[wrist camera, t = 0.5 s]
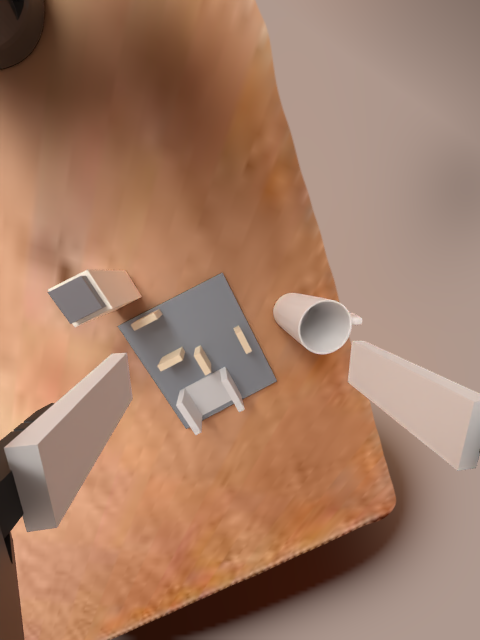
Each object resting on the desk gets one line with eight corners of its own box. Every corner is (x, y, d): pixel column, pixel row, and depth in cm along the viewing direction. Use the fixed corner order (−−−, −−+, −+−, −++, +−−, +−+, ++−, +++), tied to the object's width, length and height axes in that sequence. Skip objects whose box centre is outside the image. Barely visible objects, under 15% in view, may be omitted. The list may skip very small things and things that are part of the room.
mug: (271, 331, 39) (298, 357, 27) (270, 292, 38) (297, 302, 26) (327, 326, 40) (375, 348, 29) (327, 288, 39) (378, 295, 27)
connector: (98, 283, 34) (40, 290, 22) (125, 270, 34) (82, 269, 22) (115, 310, 35) (69, 329, 23) (141, 296, 35) (108, 309, 23)
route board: (119, 325, 35) (104, 334, 30) (222, 272, 36) (224, 272, 31) (186, 425, 41) (183, 448, 35) (275, 378, 41) (285, 394, 36)
